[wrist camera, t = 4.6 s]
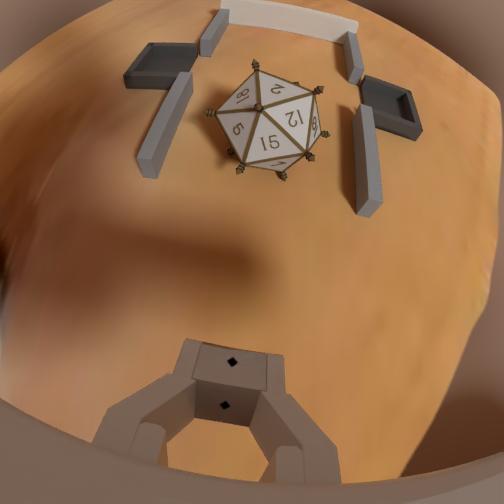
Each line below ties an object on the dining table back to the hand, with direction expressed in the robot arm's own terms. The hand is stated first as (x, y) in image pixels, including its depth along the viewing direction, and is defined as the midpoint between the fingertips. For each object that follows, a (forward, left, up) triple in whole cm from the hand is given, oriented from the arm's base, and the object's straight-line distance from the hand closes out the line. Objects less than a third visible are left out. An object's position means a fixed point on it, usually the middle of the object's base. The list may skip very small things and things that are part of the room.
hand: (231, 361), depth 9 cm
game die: (0, +16, -10) cm, 20 cm away
